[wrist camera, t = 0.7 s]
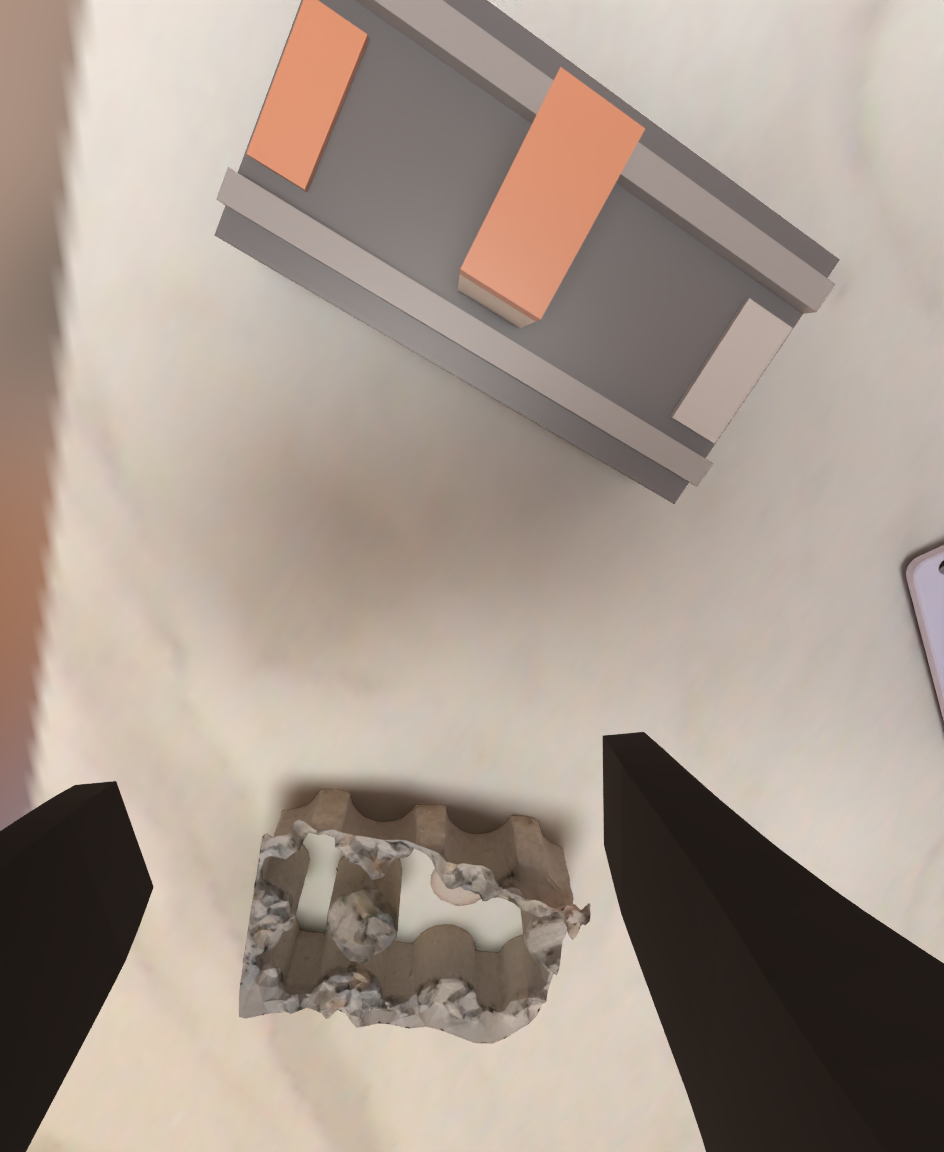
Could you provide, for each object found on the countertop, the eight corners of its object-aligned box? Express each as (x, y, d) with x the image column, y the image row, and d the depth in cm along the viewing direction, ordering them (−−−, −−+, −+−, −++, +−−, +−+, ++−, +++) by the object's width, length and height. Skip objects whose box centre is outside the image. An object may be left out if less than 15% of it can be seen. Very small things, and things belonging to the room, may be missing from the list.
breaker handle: (597, 184, 12) (645, 128, 9) (519, 328, 13) (540, 319, 10) (532, 138, 11) (560, 66, 9) (457, 289, 12) (460, 268, 9)
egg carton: (582, 816, 22) (613, 915, 18) (523, 962, 24) (539, 1078, 20) (286, 761, 20) (250, 856, 16) (255, 922, 23) (217, 1038, 19)
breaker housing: (768, 277, 15) (854, 256, 12) (636, 480, 17) (681, 509, 14) (363, -8, 13) (336, -129, 10) (259, 258, 15) (204, 230, 12)
